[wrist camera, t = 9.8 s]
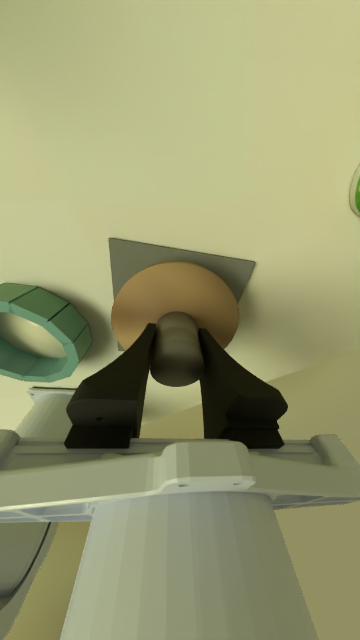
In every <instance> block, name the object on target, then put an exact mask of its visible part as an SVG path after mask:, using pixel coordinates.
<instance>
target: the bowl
mask: <svg viewBox="0 0 360 640" xmlns="http://www.w3.org/2000/svg"><path fill="white" fill-rule="evenodd" d="M68 303H69V302H67V301H65V300H63V299H61V298H59V297H57V296H55V295H54V294H52V293H50V292H48V291H46V290H44V289H42V288H40V287H39V288H38V287H37V286H28V285H20V284H12V283H3V284H1V285H0V374H1V375H4V376H8V377H11V378H14V379H18V380H21V381H23V380H24V381H29V382H49V383H50V382H54V381H57V380H60V379H64V378H67V377H70V376H71V375H72V373H73V372H74V370H75V369H76V367H77V366H78V364H79V363H80V361H81V359H82V358H83V356H84V355H85V353H86V352H87V350H88V348H89V347H90V345H91V344H92V338H91V333H90V329H89V324H87V321H86V320H85V319H84V318H83V317H82V316H81V315H80V314H79V313H78V312H77V310H76V309H75V308H74V307H73V306H72V305H71V304H68Z"/></svg>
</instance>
